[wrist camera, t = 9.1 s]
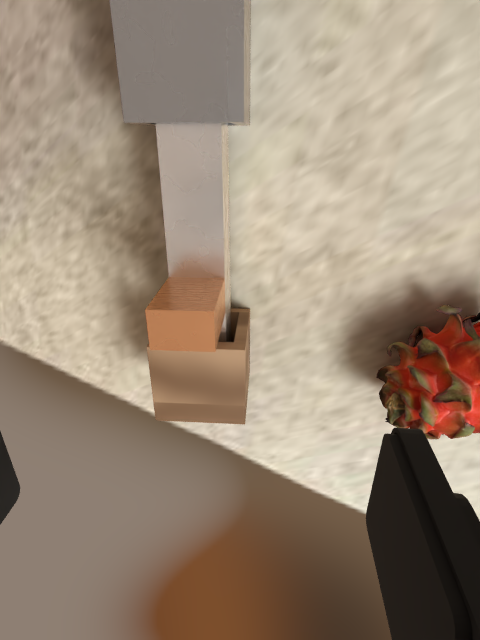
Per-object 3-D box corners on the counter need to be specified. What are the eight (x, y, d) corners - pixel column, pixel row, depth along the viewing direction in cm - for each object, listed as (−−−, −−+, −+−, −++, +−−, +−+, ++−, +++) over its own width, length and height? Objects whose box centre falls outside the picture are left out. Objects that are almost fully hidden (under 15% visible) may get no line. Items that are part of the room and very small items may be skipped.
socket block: (170, 306, 31) (146, 347, 25) (249, 308, 31) (245, 350, 25) (176, 370, 34) (155, 420, 28) (249, 372, 33) (245, 424, 27)
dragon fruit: (355, 379, 35) (467, 287, 32) (426, 460, 32) (556, 367, 29) (341, 380, 27) (488, 259, 24) (434, 489, 24) (612, 364, 21)
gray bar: (163, 26, 22) (104, -35, 14) (226, 25, 22) (201, -39, 14) (186, 347, 31) (158, 419, 23) (231, 349, 31) (217, 422, 23)
